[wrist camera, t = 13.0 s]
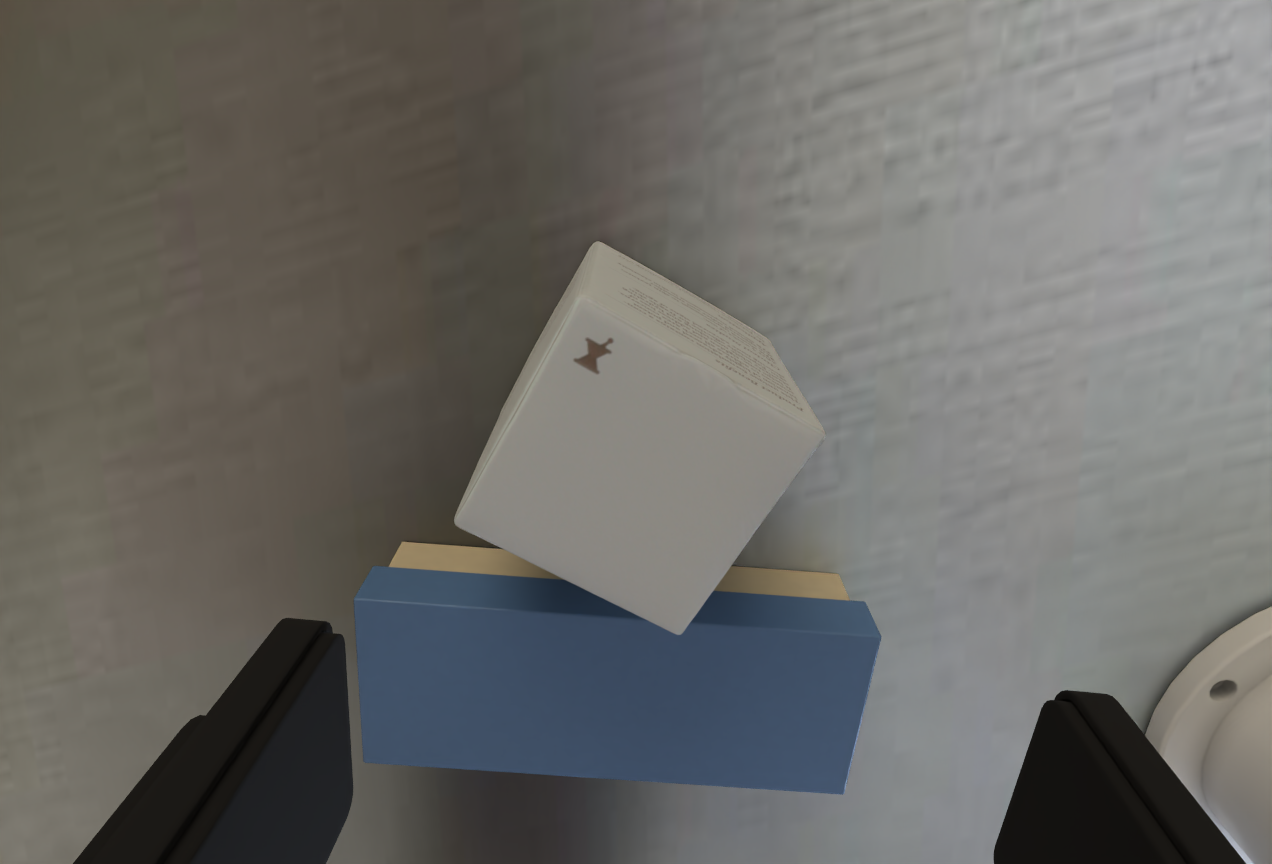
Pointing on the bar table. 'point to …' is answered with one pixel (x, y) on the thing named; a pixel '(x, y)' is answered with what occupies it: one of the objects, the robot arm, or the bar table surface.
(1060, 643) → the bar table surface
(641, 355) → the product box
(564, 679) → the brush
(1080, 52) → the bar table surface
